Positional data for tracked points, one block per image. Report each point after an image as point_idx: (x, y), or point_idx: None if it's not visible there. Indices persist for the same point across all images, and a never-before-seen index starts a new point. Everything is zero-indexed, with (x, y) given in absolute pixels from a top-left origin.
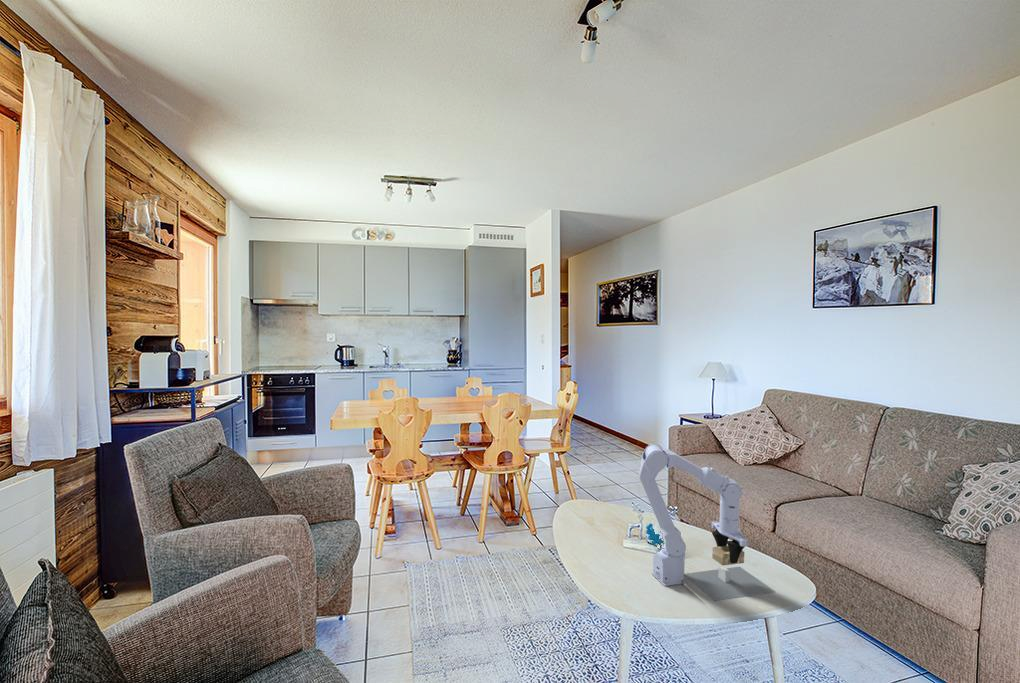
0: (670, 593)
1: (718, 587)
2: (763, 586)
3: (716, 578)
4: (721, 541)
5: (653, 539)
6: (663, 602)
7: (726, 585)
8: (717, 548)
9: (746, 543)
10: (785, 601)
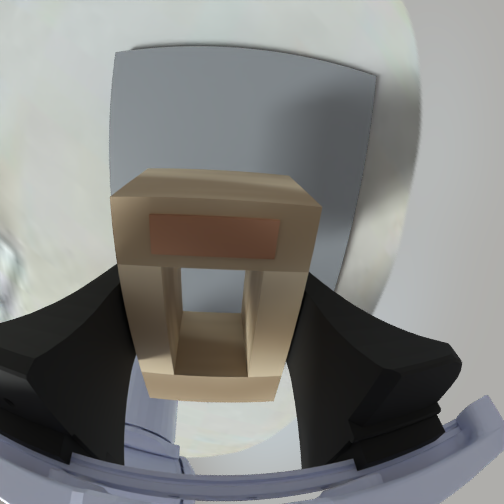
0: None
1: None
2: (323, 83)
3: None
4: (116, 375)
5: None
6: (252, 415)
7: None
8: (174, 387)
9: (493, 421)
10: (408, 90)
